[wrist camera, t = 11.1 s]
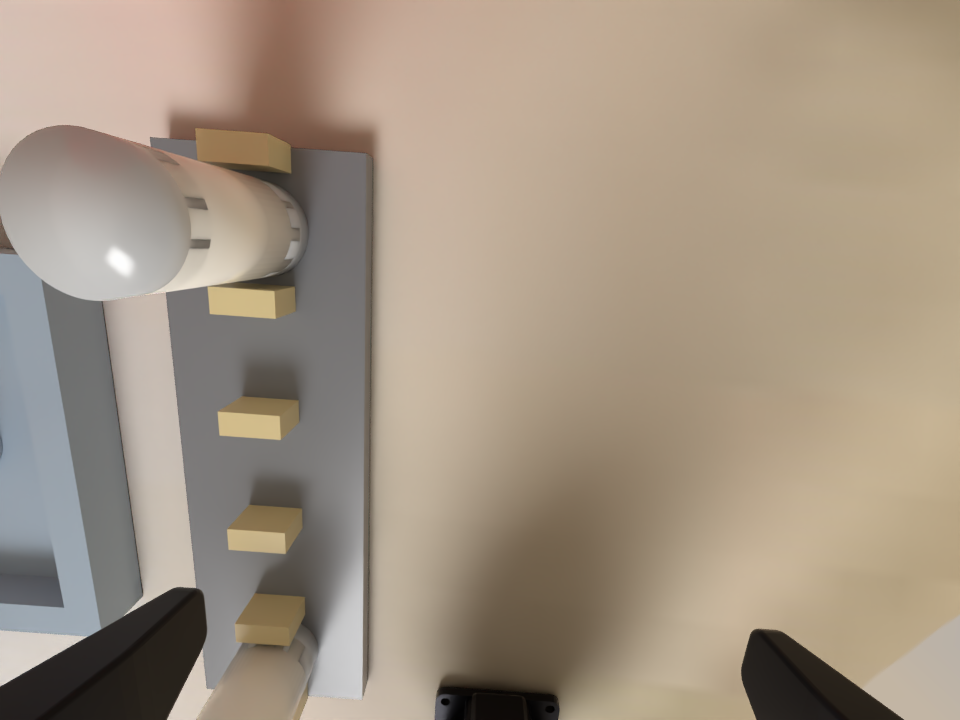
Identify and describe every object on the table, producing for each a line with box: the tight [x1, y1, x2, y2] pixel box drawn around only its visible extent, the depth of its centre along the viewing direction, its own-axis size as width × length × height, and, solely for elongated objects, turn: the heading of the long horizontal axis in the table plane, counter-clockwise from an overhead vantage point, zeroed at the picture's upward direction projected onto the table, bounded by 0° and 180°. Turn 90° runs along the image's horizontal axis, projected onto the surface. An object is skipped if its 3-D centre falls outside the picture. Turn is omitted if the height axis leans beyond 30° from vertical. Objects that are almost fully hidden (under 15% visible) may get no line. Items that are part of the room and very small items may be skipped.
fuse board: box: [150, 128, 373, 720], centre depth 20 cm, size 26×8×3 cm, turn 176°
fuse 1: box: [0, 125, 309, 301], centre depth 14 cm, size 4×4×8 cm
